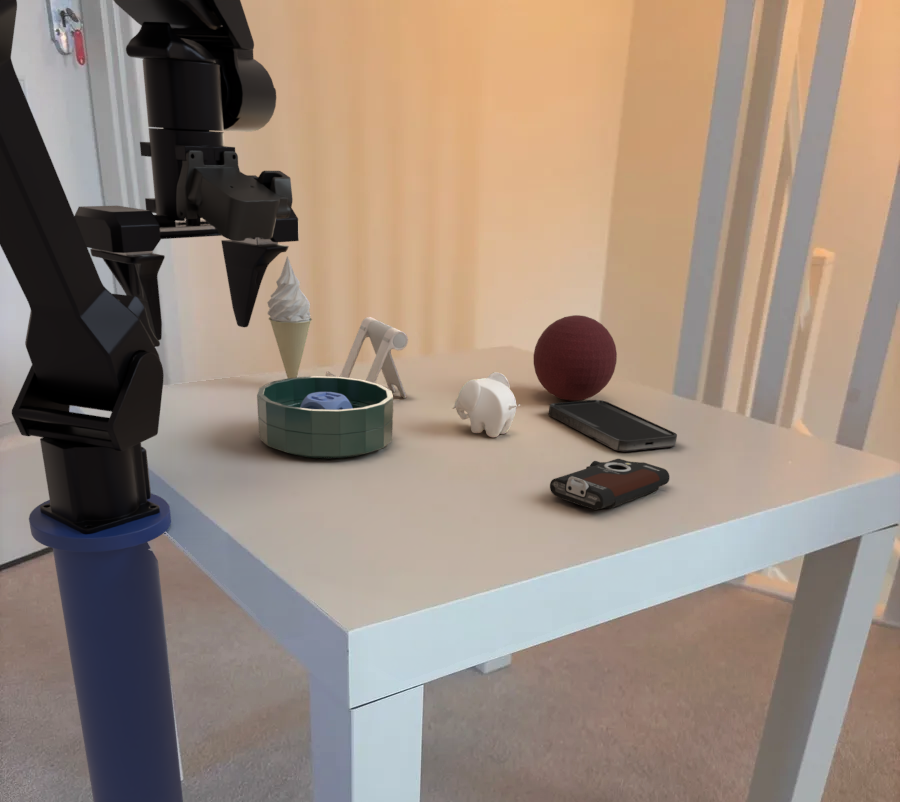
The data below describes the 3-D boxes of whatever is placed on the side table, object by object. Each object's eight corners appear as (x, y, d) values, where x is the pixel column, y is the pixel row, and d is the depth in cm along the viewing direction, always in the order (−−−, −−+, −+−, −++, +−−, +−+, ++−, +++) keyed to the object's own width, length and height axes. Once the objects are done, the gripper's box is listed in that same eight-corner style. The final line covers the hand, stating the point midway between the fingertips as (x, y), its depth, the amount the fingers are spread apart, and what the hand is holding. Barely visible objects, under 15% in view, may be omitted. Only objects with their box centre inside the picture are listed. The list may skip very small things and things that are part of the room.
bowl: (325, 472, 84) (325, 419, 82) (232, 440, 91) (229, 390, 89) (418, 442, 94) (419, 394, 91) (326, 415, 101) (326, 370, 98)
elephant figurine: (471, 418, 103) (474, 365, 100) (532, 432, 99) (538, 378, 96) (436, 430, 98) (439, 375, 95) (500, 446, 94) (505, 389, 91)
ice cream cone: (266, 383, 112) (260, 253, 105) (306, 380, 114) (303, 253, 107) (277, 393, 107) (272, 259, 101) (318, 391, 110) (316, 259, 103)
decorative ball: (603, 415, 107) (615, 327, 102) (521, 403, 109) (528, 318, 105) (616, 395, 115) (627, 314, 111) (539, 385, 118) (547, 305, 113)
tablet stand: (324, 390, 110) (324, 318, 106) (384, 385, 114) (385, 316, 110) (352, 408, 103) (352, 333, 100) (414, 403, 107) (417, 330, 103)
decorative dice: (354, 434, 93) (354, 395, 91) (332, 444, 90) (331, 404, 88) (321, 427, 94) (320, 389, 93) (298, 437, 91) (297, 397, 89)
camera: (543, 470, 80) (613, 448, 88) (542, 500, 81) (611, 476, 89) (603, 483, 76) (672, 460, 84) (601, 515, 77) (668, 489, 85)
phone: (601, 399, 108) (681, 435, 96) (600, 408, 109) (679, 445, 97) (544, 403, 105) (620, 442, 93) (543, 413, 105) (618, 452, 94)
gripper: (146, 130, 61) (167, 366, 68) (343, 138, 74) (344, 335, 81) (54, 123, 67) (83, 340, 74) (252, 132, 80) (260, 315, 87)
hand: (201, 332), depth 79 cm, fingers open, 9 cm apart
